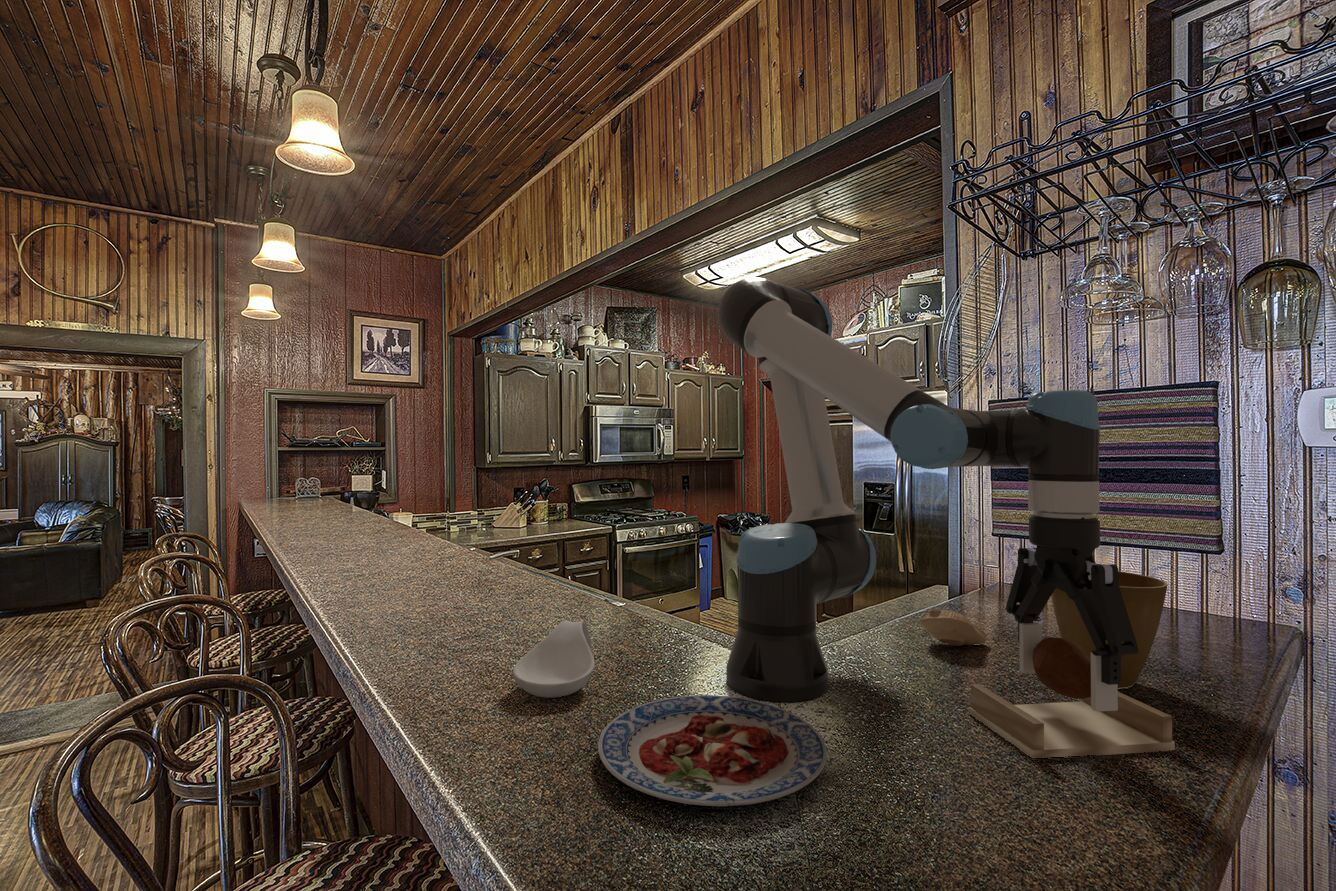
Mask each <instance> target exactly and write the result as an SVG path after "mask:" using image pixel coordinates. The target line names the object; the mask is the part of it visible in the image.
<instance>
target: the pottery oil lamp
mask: <svg viewBox="0 0 1336 891" xmlns="http://www.w3.org/2000/svg"><path fill="white" fill-rule="evenodd" d="M920 624H921V626H922V627H923V629H925V630H926V631H927V632H928V633H929V634H930V635H931V636H933V637H934V638H936V639H937V640H938V641H939V642H940V643H943V644H946V645H950V646H955V647H956V646H958V647H959V646H961V647H962V646H963V645H964V646H972V645H974V644H981V643H984V644H985V643H986V642H987V641H988V638H987V634H986V632H985V631H984V630H983V629H981V628H979V627H978V626H976V625H975V624H973V623H972V622H971V621H970V620H969V618H967V617H966V616H965V615H964V614H963V613H962V612H959V611H956V610H949V609H944V610H943V609H942V610H939V609H932V610H929V613H928V614H927V615H925V616H924V617H923V618H922V619H921V620H920Z"/></svg>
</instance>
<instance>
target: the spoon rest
mask: <svg viewBox="0 0 1336 891" xmlns="http://www.w3.org/2000/svg"><path fill="white" fill-rule="evenodd" d="M592 648H593V646H592V640H591V635H590V632H589V629H588V625H586V623H585V621H583V620H579V621H570V620H567V619H566V620H561V622H560V623H558V624H557V625H556V627H555V628H553V629H552V630H551V631H550V633H548V634H547V635H546V636H545V637H544V638H543V639H542V640H541V641H540V642H538V643H537V644H536V645H534V647H533V648H531V649H530V650H529V651H528V652H527V653H526V654H524V655H523V656H522V657H521V658H520V659H519V660H518V661H517V662H516V664H515V665H514V666H513V668H512V676H513V677H514V680H515V681H516V683H517V685H518V686H520V688H522V690H524V691H525V692H527V693H528V694H530V695H533V696H536V697H538V698H545V699H546V698H547V699H548V698H549V699H557V698H556V697H558V698H563V697H562V696H564V697H566V696H569V695H572V694H574V693H576V692H578V691H579V690H581V689H582V688H583V687H584V686H585V685H586V684H587V683H588V682H589V680H590V678H591V677H592V674H594V670H595V667H596V666H595V664H596V663H595V659H594V655H593V652H592V651H593V650H592Z"/></svg>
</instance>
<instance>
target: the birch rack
mask: <svg viewBox="0 0 1336 891" xmlns="http://www.w3.org/2000/svg"><path fill="white" fill-rule="evenodd" d="M969 713H970V714H971V715H972V716H974V717H975V718H977V719H978V720H980V721H981V722H983V723H984V724H985V725H987V726H989V727H990V728H992V729H993V730H994V731H996V732H997V733H998V734H1000V735H1001V736H1002V737H1004V738H1005V739H1006V740H1008V741H1009V742H1011V743H1012V744H1014V745H1015V746H1016V747H1017V748H1019V749H1021V750H1022V751H1023V752H1025V753H1026V754H1028V755H1029V756H1030V757H1032V758H1040V757H1041V758H1043V757H1044V758H1045V757H1064V758H1072V757H1071V756H1080V757H1088V756H1087V755H1090V756H1089V757H1092V756H1091V755H1094V756H1095V755H1096V756H1111V755H1123V754H1124V755H1125V754H1127V755H1129V754H1139V753H1140V754H1142V753H1143V754H1144V752H1145V753H1159V751H1161V752H1173V751H1172V750H1175V746H1176V745H1175V741H1174V740H1173V716H1172V715H1170V714H1168V713H1165V712H1163V711H1162V710H1159V709H1157V708H1155V707H1152V706H1150V705H1148V704H1146V703H1144V702H1142V701H1139V700H1137V699H1135V698H1134V697H1131V696H1129V695H1126V694H1124V693H1122V692H1120V691H1118V710H1116V711H1098V712H1096V711H1094V710H1092V709H1091V697H1090V698H1083V699H1082V701H1066V702H1046V703H1045V702H1044V703H1028V704H1027V703H1026V704H1025V703H1023V704H1013V703H1011V702H1009V701H1008V700H1006V699H1005V698H1003V697H1001V696H1000V695H998V694H996V693H994V692H993V691H992V690H990V689H989V688H986V687H985V686H984V685H982V684H980V683H975V684H973V683H972V684H970V706H969V707H968V714H969ZM1169 750H1170V751H1169ZM1084 755H1085V756H1084ZM1065 756H1066V757H1065ZM1068 756H1070V757H1068ZM1096 756H1095V757H1096Z"/></svg>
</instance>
